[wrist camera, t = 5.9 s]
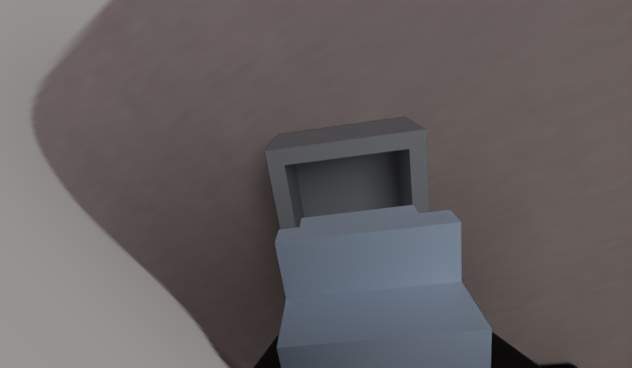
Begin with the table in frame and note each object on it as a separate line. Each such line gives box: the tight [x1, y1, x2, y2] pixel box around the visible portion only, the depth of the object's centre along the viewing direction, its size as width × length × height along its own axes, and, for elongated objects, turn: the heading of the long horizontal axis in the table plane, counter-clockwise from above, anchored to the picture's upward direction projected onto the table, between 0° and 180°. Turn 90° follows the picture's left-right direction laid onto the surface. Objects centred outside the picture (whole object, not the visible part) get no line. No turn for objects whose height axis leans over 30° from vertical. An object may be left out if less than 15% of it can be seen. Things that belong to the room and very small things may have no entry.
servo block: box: [275, 205, 492, 368], centre depth 8 cm, size 7×3×4 cm, turn 9°
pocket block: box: [265, 117, 430, 229], centre depth 14 cm, size 8×6×3 cm
